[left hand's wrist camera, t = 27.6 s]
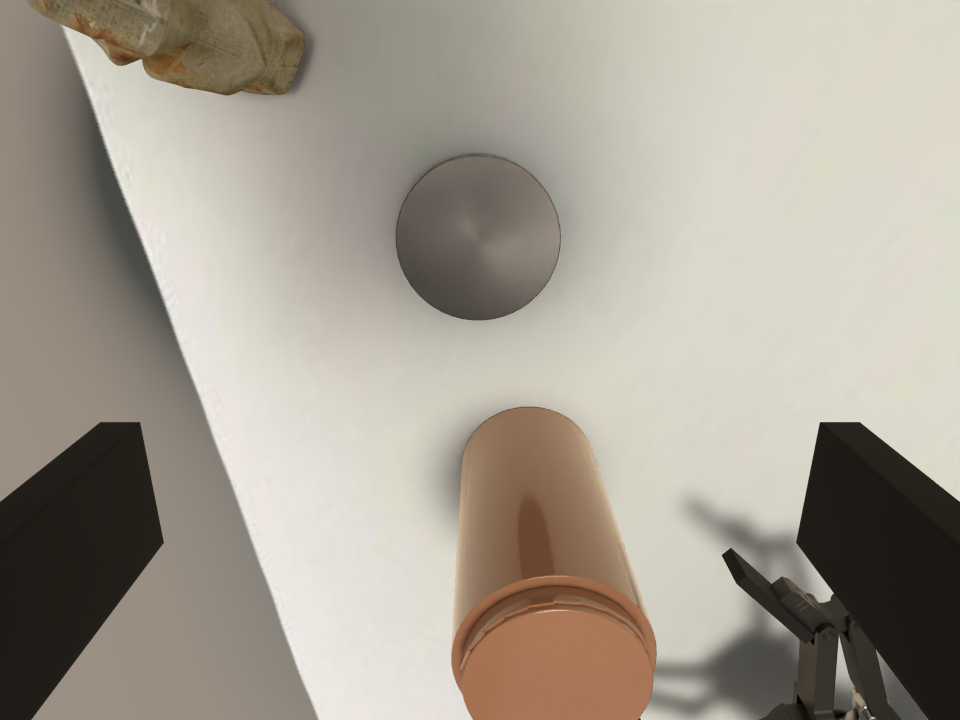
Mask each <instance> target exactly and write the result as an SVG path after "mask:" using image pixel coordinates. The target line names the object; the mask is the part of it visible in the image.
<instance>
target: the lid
mask: <svg viewBox="0 0 960 720" xmlns="http://www.w3.org/2000/svg"><path fill="white" fill-rule="evenodd" d="M560 239H561V235H560V225H559V220H558V215H557V213H556V210H555V207H554V204H553V203H552V201H551V199H550V197H549V195H548V193H547V192H546V191H545V189H544V188H543V186H542V185H541V184H540V183H539V182H538V181H537V180H536V179H535V178H534V177H533V176H532V175H531V174H530V173H529V172H528V171H526V170H525V169H524V168H522V167H521V166H519V165H517V164H516V163H514V162H512V161H509V160H507V159H505V158H501V157H498V156H493V155H487V154H470V155H463V156H459V157H455V158H452V159H450V160H447V161H445V162H442V163H441V164H439V165H437V166H436V167H434V168H433V169H431V170H430V171H429V172H428V173H426V174H425V175H424V176H423V177H422V178H421V179H420V180H419V181H418V182H417V183H416V184H415V186H414V187H413V188H412V190H411V191H410V192H409V194H408V196H407V198H406V199H405V201H404V203H403V206H402V208H401V211H400V214H399V218H398V222H397V229H396V247H397V253H398V258H399V261H400V265H401V268H402V270H403V272H404V274H405V276H406V278H407V280H408V281H409V283H410V285H411V286H412V287H413V289H414V290H415V291H416V292H417V293H418V294H419V295H420V296H421V297H422V298H423V299H424V300H425V301H426V302H427V303H429V304H430V305H431V306H433V307H434V308H436V309H438V310H440V311H441V312H443V313H446V314H448V315H451V316H454V317H457V318H461V319H468V320H489V319H495V318H499V317H503V316H506V315H508V314H511V313H513V312H515V311H517V310H519V309H521V308H522V307H524V306H525V305H527V304H528V303H529V302H531V301H532V300H533V299H534V298H535V297H536V296H537V295H538V294H539V293H540V292H541V290H542V289H543V288H544V287H545V285H546V284H547V282H548V281H549V279H550V277H551V275H552V273H553V271H554V269H555V266H556V263H557V260H558V256H559V251H560Z"/></svg>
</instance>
